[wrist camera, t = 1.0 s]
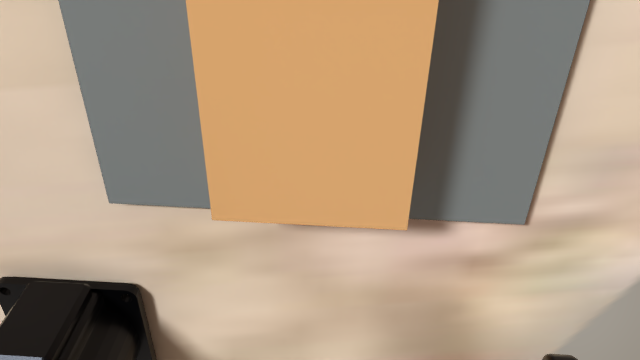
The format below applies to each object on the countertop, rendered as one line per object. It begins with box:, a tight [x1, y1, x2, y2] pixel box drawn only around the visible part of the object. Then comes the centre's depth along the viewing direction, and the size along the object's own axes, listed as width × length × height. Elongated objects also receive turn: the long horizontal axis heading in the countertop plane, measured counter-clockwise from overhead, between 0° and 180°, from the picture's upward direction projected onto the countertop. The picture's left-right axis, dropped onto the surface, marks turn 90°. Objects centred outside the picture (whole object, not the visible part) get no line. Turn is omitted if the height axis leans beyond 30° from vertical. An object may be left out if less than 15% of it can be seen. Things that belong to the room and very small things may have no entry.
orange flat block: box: [186, 0, 439, 230], centre depth 17 cm, size 9×6×2 cm
